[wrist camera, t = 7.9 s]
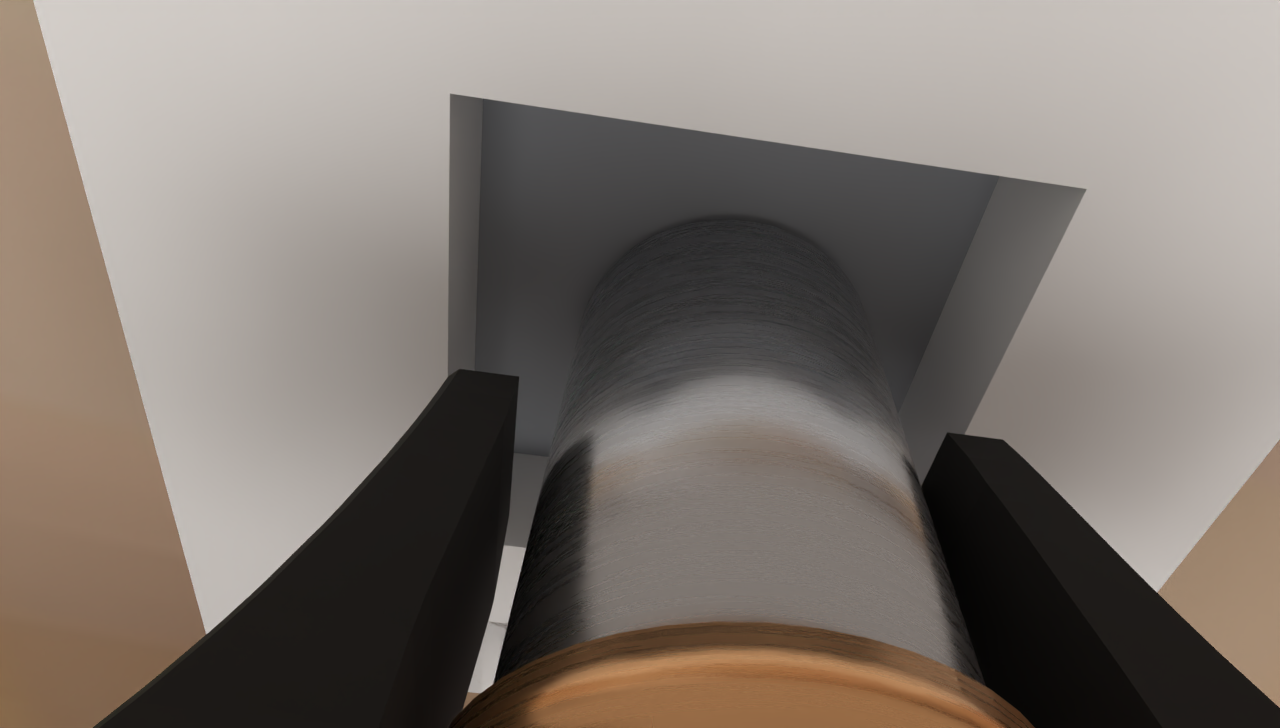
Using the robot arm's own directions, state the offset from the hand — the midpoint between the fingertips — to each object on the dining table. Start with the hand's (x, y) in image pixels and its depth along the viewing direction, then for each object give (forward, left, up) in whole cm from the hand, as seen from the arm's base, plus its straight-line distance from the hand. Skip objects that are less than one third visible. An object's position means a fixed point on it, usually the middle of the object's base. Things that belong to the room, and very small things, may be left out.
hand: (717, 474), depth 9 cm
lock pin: (0, 0, -3) cm, 3 cm away
